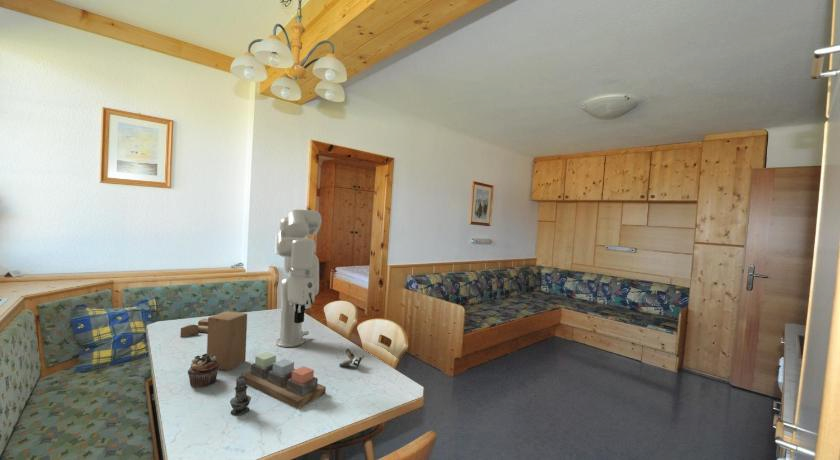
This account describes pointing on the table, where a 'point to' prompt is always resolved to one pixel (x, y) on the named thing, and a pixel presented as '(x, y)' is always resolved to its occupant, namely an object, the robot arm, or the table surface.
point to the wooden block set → (195, 328)
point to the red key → (302, 375)
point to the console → (284, 386)
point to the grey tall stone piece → (240, 397)
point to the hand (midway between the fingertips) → (299, 322)
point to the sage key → (265, 360)
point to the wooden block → (227, 338)
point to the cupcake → (203, 371)
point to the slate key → (283, 367)
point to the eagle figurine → (351, 359)
